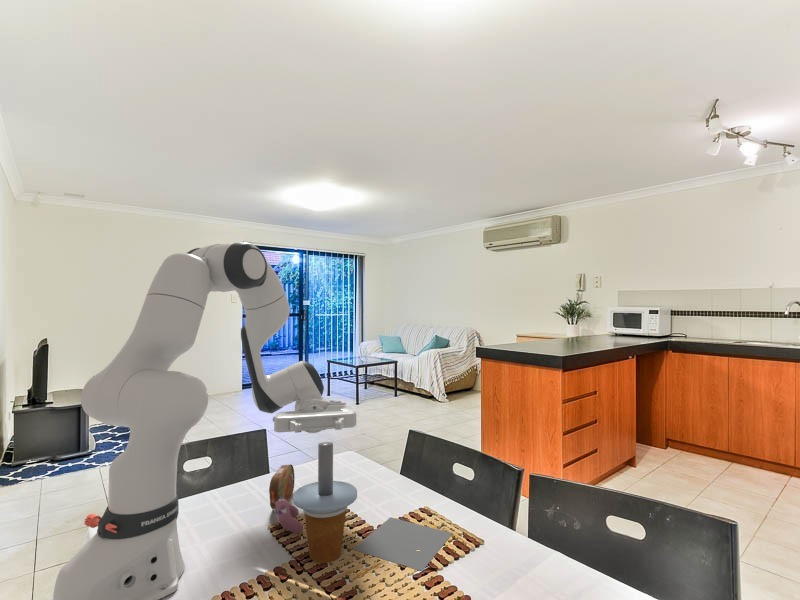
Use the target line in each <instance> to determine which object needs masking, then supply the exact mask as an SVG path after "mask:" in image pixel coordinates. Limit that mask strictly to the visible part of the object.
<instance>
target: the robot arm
mask: <svg viewBox="0 0 800 600" xmlns="http://www.w3.org/2000/svg"><path fill="white" fill-rule="evenodd" d="M234 291H235V292H236V293H237V295H238V297H239V301H240V303H241V305H242V308H243V310H244V313H245V322H244V325H243V326H242V327H241V328H240V339H241V344H242V349H243V350H242V351H243V355H244V358H245V359H244V360H245V363H246V366H247V371H248V375H249V378H250V382H251V395H252V399H253V403H254V405H255V406H256V408H257V409H258V411H260V412H263V413H268V414H274V413H275V412H278V411H279V410H281V409H282V408H284V407H286V406H288V405H289V404H292V403H294V410H292V411H291V410H289V411H280V412H278V413H276V414H275V416H273V417H272V422H273V428H274V432H275V433H292V432H294V433H295V434H296V433H297V434H299V433H302V432H306V433H309V434H315V433H320V432H321V431H326V430H335V431H341V430H342V429H348V428H349V429H350V428H356V426H357V412H356V410H354V408H352V407H351V406H349V405H347V402H346V401H343V400H342V401H341V400H332V399H331V400H330V399H326V398H324V397H323V394H324V391H325V387H324V384H323V381H322V378H321V375H320V374H319V373H318V371H317V369H316V368H315V366H314V365H313V364H312V363H310V362H308V361H306V360H300V361H298V362H296V363H293V364H291V365H288V366H287V367H284V368H283V369H281V370H278V371H276V372H274V373H271V374H266V373H265V369H264V364H263V361H262V356H261V351H262V349H263V347H264V346H265V344H266V343H267V342H268V341H269V340H270V339H271V338H272V337H273V336H274V335H275V334H277V333H278V332H279V331H280V330H281V329H282V328H283V326H284V325H286V323H287V321H288V319H289V317H290V313H291V312H290V311H291V308H290V304H289V299H288V296H287V294H286V292H285V289H284V286H283V285H282V283H281V280H280V279H279V277H278V274H277V273H276V272H275V270H274V268H273V267H272V265H271V264H270V263H269V261H268V260H267V259H266V256H265V255H264V253H263V252H262V250H261V249H260V248H259V247H258V246H256V245H255V244H253V243H250V242H244V241H243V242H242V241H238V242H234V243H216V244H210V245H207V246H203V247H195V248H193V249H191V250H189V251H187V252H178V253H172V254H170V255H169V256H167V257H166V258H165V259H164V260H163V262H162V263H161V265H160V266H159V268H158V270H157V272H156V274H155V275H154V278H153V280H152V282H151V284H150V286H149V288H148V289H147V293H146V296H145V299H144V302H143V304H142V307H141V310H140V312H139V315H138V317H137V320H136V322H135V325H134V328H133V330H132V332H131V334H130V335H129V337H128V339H127V340H126V342H125V343H124V345H123V346H122V347H121V349H120V351H119V352H118V353H117V354H116V356H115V357H114V358H113V359H112V360H111V361H110V362H109V364H108V365H107V366H106V367H105V368H103V369H102V370H101V371H99V372H98V373H96V374H95V375H93V376H91V377H90V378H89V379H88V381H87V382H86V383H85V384H84V386H83V388H82V391H81V395H80V405H81V407H82V409H83V411H84V413H85V414H86V415H87V416H88V417H90V418H93V419H94V420H96V421H98V422H101V423H103V424H105V425H108V426H116V427H123V428H124V427H125V428H129V437H128V438H129V439H128V442H127V445H126V448H125V449H124V451H123V452H121V453H120V454H119V455H117V456H116V457H115V458H114V459H113V460H112V462H111V463H110V466H109V469H108V501H107V502H108V505H107V507H106V509H105V510H104V513H103V515H102V516H100V515H97V514H96V513H89V514H88V515H87V516H86V517H85V518H84V521H83V524H84V525H85V526H86V527H90V528H92V529H95V528H97V530H96V533H95V534H94V535H93V536H92V537H91V538H90V539H89V540H88V541H87V542H86V543H85V544H84V545H83V546H82V547H81V548H80V549H79V550H78V551H77V552H76V553H75V554H74V555H73V556H72V557H71V558H70V559H69V560H68V561H67V562H66V563H65V564H64V565H63V566H62V567H61V569H59V572H58V574H57V576H56V579H55V583H54V589H53V594H51V595H50V596H48V597H47V598H45V599H44V600H160V599H162V598H164V597H166V596H168V595H171V594H172V593H174V592H176V591H177V590H178V588H179V579H180V578H181V576H182V575H183V573H184V571H185V566H186V565H185V562H184V559H183V556H182V552H181V548H180V541H179V534H178V524H177V519H178V516H179V509H180V508H179V494H178V493H177V476H178V475H177V473H178V459H179V453H180V449H181V446H182V443H183V442H184V439H185V437H186V436H187V433H189V431H190V430H191V428H192V429H193V427H195V426H196V425H197V424H198V423H199V422H200V421H201V420H202V418H203V417H204V415H205V413H206V411H207V408H208V403H209V393H208V392H209V391H208V388H207V387H206V384H205V383H204V382H203V380H202V379H200V378H198V377H195V376H193V375H190V374H187V373H184V372H180V371H176V370H170V367H171V366H172V365H173V363H174V362H175V361H176V360H177V359H178V358H179V357H180V356H181V355H183V354H184V353H187V352H188V351H189V350H190V349H191V348H192V347H193V346H194V344H195V342H196V338H197V336H198V332H199V329H200V325H201V322H202V318H203V314H204V313H205V309H206V305H207V301H208V296H209V294H210V292H221V293H226V292H228V293H229V292H234Z"/></svg>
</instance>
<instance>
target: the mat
mask: <svg viewBox="0 0 800 600" xmlns="http://www.w3.org/2000/svg"><path fill="white" fill-rule="evenodd" d="M453 534H454V533H453V532H449V531H447V530H442V529H437V528H434V527H431V526H426V525H422V524H418V523H414V522H411V521H407V520H403V519H398V518H395V517H389V518H388V519H387V520H385V521H384V522H383V523H382V524H381V525H379V526H378V527H377V528H376V529H375V530H374V531H373V532H371V533H370V534H369V535H368V536H367V537H365V538H364V539H363V540H362V541H361V542H359V543H358V544H357V545H355V547H353V549H352V551H356V552H359V553H362V554H365V555H369V556H372V557H375V558H377V559H381V560H385V561H387V562H392V563H394V564H398V565H401V566H404V567H407V568H411V569H413V570H416V571H420V572H423V571H424V570H425V568H426V567H428V566H429V563H430V562H431V561H432V560H433V559H434V557H435V556H436V555H437V553H438V552H439V551H440V550H441V549H442V548H443V546H444V545H445V543H447V542H448V540H449V539H450V537H451V536H452V535H453ZM416 550H420V551H416Z"/></svg>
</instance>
